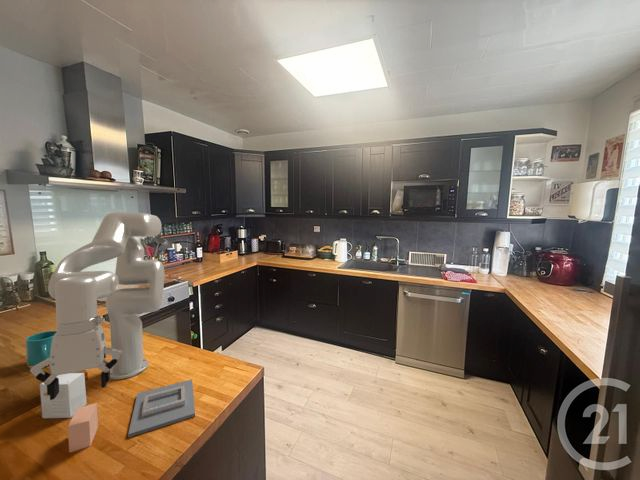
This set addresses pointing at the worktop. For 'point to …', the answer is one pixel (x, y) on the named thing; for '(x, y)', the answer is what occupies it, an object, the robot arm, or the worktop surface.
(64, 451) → the worktop surface
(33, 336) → the cup
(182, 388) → the nest board
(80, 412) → the key block
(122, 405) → the worktop surface
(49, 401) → the small box
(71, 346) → the robot arm
